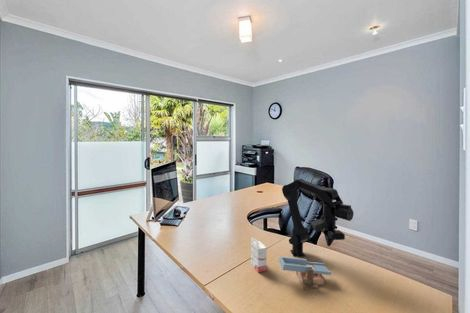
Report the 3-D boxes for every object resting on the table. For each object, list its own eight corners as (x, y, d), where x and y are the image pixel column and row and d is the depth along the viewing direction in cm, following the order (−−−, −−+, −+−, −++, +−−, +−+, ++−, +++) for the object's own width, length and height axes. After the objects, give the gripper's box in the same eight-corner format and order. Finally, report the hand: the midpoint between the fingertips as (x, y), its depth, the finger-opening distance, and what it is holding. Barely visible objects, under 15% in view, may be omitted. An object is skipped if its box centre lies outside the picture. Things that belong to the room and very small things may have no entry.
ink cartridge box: (267, 270, 110) (267, 241, 108) (258, 273, 108) (258, 243, 107) (259, 261, 118) (259, 234, 116) (250, 263, 116) (250, 236, 115)
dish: (317, 275, 106) (317, 269, 105) (324, 284, 98) (324, 278, 98) (297, 275, 105) (297, 270, 105) (302, 285, 98) (302, 279, 98)
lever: (323, 266, 106) (324, 260, 105) (331, 275, 98) (332, 269, 98) (278, 261, 104) (279, 256, 104) (283, 270, 97) (284, 264, 97)
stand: (308, 272, 108) (308, 257, 107) (318, 288, 96) (318, 271, 96) (295, 273, 107) (296, 257, 107) (304, 289, 96) (304, 271, 95)
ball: (305, 277, 103) (303, 270, 103) (312, 275, 104) (311, 268, 103) (308, 282, 100) (306, 274, 100) (315, 280, 100) (314, 273, 100)
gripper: (306, 209, 117) (305, 238, 118) (321, 222, 99) (320, 256, 100) (326, 208, 118) (326, 237, 119) (346, 221, 99) (345, 255, 100)
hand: (328, 245), depth 109 cm, fingers closed
